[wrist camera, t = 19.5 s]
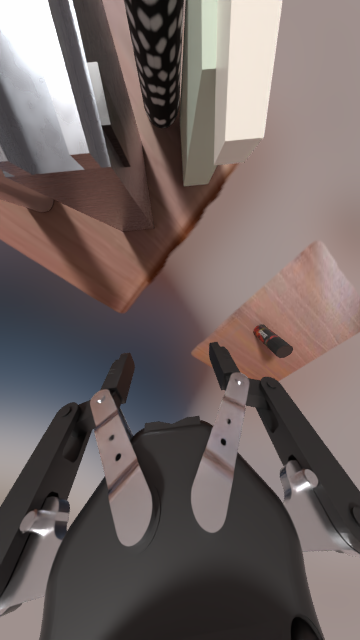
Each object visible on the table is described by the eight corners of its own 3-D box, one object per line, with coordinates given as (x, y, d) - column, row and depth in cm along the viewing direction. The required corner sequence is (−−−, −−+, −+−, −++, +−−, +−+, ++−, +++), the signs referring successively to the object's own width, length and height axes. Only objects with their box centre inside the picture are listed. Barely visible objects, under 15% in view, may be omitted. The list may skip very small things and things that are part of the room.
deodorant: (262, 336, 62) (286, 358, 49) (251, 334, 61) (273, 356, 48) (268, 325, 60) (296, 346, 46) (257, 323, 59) (281, 344, 45)
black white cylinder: (186, 106, 30) (205, -104, 13) (160, 138, 32) (144, -3, 15) (162, 54, 27) (143, -327, 9) (135, 93, 29) (76, -157, 11)
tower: (122, 231, 41) (-24, 164, 10) (101, 145, 32) (-883, -1365, 2) (156, 228, 41) (110, 151, 10) (144, 141, 32) (-239, -1391, 2)
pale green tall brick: (183, 186, 37) (202, 69, 13) (179, 119, 31) (199, -273, 8) (207, 184, 37) (268, 63, 14) (208, 116, 31) (311, -281, 8)
